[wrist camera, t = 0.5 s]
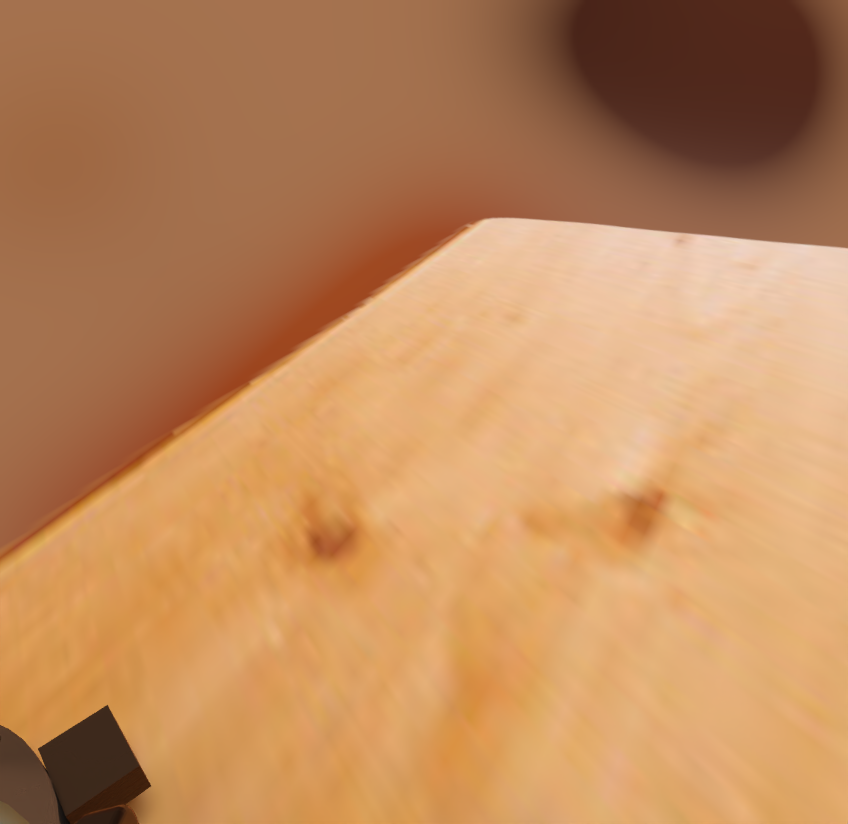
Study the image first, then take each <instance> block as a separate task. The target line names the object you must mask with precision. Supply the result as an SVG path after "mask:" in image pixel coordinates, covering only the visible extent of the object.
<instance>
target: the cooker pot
mask: <svg viewBox="0 0 848 824" xmlns="http://www.w3.org/2000/svg"><path fill="white" fill-rule="evenodd" d="M38 750H39V752H40V754H41V757H42V759H43V762H44V764H45V767H46V769H47V770H46V769H45V767H44V766H43V764H42V763H41V761H40V760H39V759H38V757H37V756H36V754H35V753H34V752H33V751H32V749H31V748H30V747H29V746H28V745H27V744H26V742H25V741H24V740H23V739H22V738H20V737H19V736H17V735H16V734H15V733H13V732H12V731H11V730H9V729H8V728H5V727H3V726H1V725H0V801H1V802H3V803H6V804H8V805H9V806H10V807H11V808H13V809H14V810H15V811H16V812H17V813H18V814H20V815H21V816H22V817H23V818H24V819H26V820H27V821H28V822H29V824H75V823H76V822H77V821H78V820H79V819H80V818H81V817H82V816H84V815H86V814H88V813H91V812H95V811H99V810H103V809H107V808H110V807H114V806H118V805H125V804H127V803H128V802H129V801H131V800H132V799H134V798H135V797H136V796H138V795H139V794H141V793H142V792H144V791H145V790H146V789H148V788H149V787H151V785H150V783H149V781H148V779H147V777H146V775H145V773H144V772H143V770H142V768H141V766H140V764H139V762H138V760H137V759H136V757H135V755H134V753H133V751H132V749H131V747H130V746H129V744H128V742H127V740H126V738H125V736H124V734H123V732H122V731H121V729H120V727H119V725H118V723H117V721H116V720H115V718H114V716H113V714H112V712H111V711H110V709H109V707H108V705H107V706H105V707H104V708H102V709H100V710H99V711H97V712H96V713H94V714H92V715H91V716H89V717H88V718H86V719H84V720H83V721H81V722H80V723H78V724H77V725H75V726H73V727H72V728H70V729H69V730H67V731H65V732H64V733H62V734H61V735H59V736H57V737H56V738H54V739H53V740H51V741H50V742H48V743H46V744H45V745H43V746H42V747H40V748H38Z"/></svg>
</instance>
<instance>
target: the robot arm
mask: <svg viewBox="0 0 848 824" xmlns="http://www.w3.org/2000/svg"><path fill="white" fill-rule="evenodd" d="M75 824H139V823H138V820H137V817H136V815H135V813H134V811H133V810H132V809H131V807H129V806H126V805H118V806H114V807H110V808H107V809H103V810H99V811H95V812H91V813H88V814H86V815H84V816H82V817H81V818H80V819H79V820H78V821H77V822H76V823H75Z"/></svg>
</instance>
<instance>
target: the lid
mask: <svg viewBox="0 0 848 824" xmlns="http://www.w3.org/2000/svg"><path fill="white" fill-rule="evenodd" d="M0 824H29V822H28V821H27V820H26V819H24V818H23V817H22V816H21V815H20V814H18V813H17V812H16V811H15V810H14V809H13V808H11V807H10V806H9V805H8V804H6V803H3V802H1V801H0Z"/></svg>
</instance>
